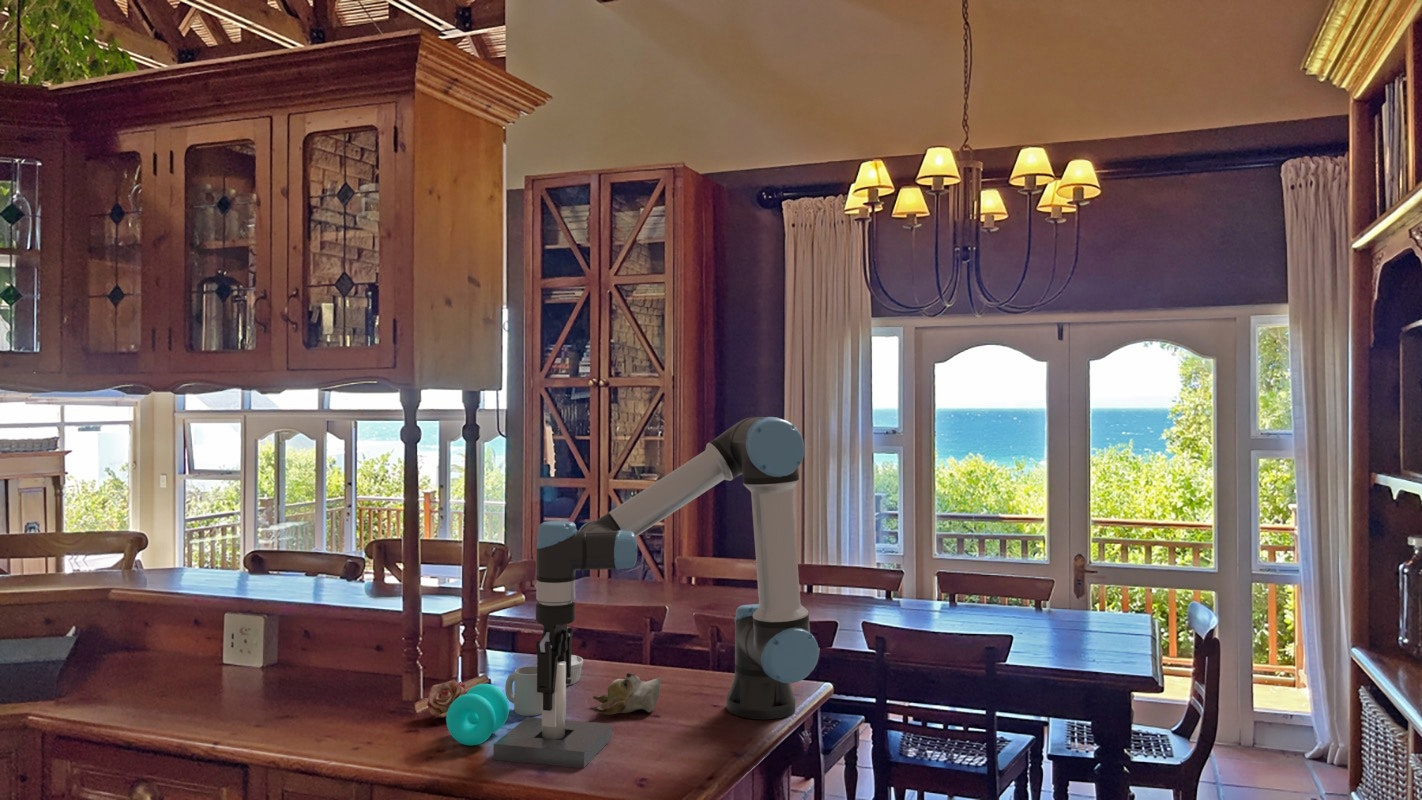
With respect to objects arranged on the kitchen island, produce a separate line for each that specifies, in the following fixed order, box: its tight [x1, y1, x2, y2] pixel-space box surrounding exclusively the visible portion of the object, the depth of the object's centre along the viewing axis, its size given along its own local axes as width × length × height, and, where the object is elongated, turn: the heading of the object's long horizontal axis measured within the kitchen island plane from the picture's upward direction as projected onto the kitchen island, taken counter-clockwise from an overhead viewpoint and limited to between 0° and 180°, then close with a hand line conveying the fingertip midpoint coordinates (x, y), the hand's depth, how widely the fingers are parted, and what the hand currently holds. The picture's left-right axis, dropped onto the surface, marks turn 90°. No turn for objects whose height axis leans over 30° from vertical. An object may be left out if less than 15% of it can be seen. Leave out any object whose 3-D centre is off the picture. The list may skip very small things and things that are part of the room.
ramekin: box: [535, 654, 584, 687], centre depth 234 cm, size 11×11×5 cm
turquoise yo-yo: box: [445, 683, 510, 746], centre depth 193 cm, size 10×10×10 cm
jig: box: [492, 716, 613, 769], centre depth 188 cm, size 18×16×3 cm
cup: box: [504, 665, 542, 717], centre depth 211 cm, size 7×10×9 cm
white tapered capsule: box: [542, 661, 567, 739], centre depth 188 cm, size 4×4×14 cm
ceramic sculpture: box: [592, 673, 662, 716], centre depth 211 cm, size 11×9×15 cm
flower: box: [426, 678, 467, 720], centre depth 206 cm, size 9×9×7 cm
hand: (553, 721), depth 188 cm, fingers closed on white tapered capsule, 4 cm apart
